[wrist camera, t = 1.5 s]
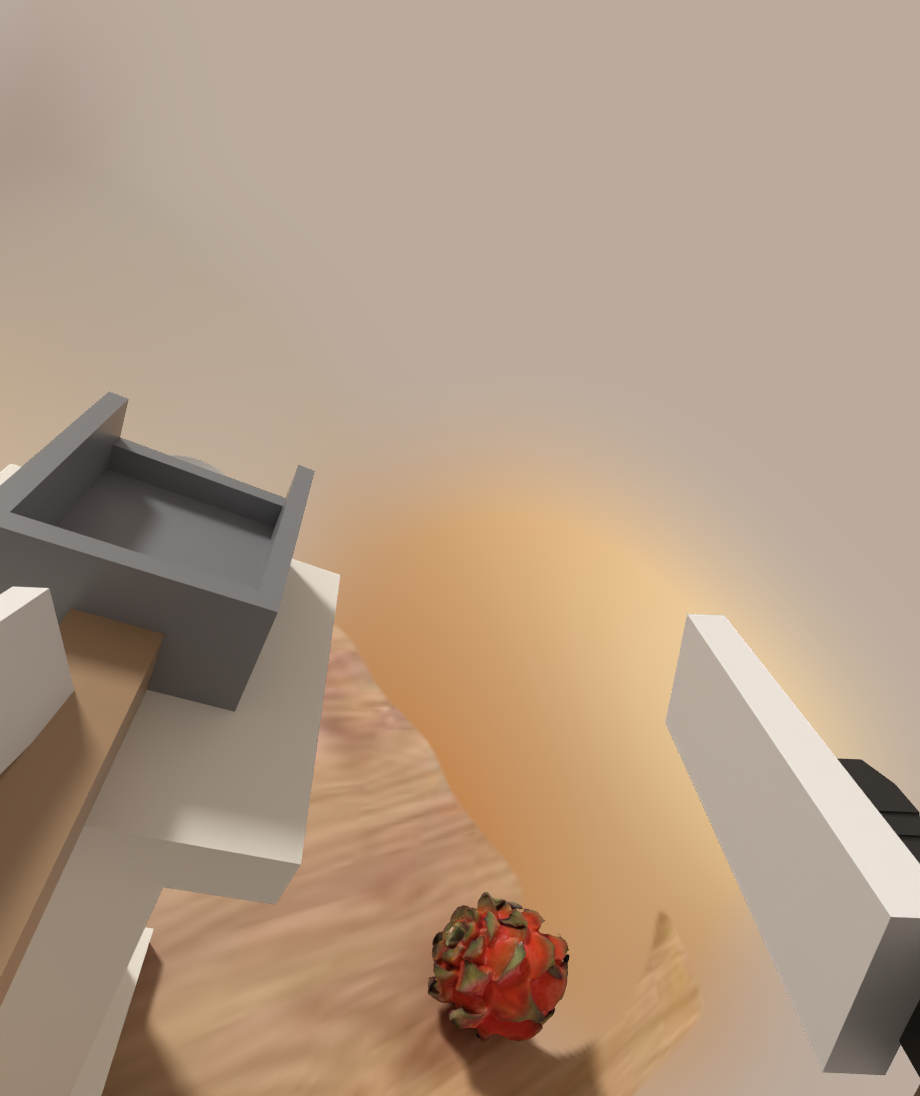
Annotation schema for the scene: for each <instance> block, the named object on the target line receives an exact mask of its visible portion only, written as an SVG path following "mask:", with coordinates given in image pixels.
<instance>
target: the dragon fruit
mask: <svg viewBox="0 0 920 1096" xmlns="http://www.w3.org/2000/svg"><path fill="white" fill-rule="evenodd" d="M516 908H518V909H523V908H522V906H520V905H519V904H517V903H514V902H506V901H505V900H499V899H493V898H491V896H490V895H489V893H487V892H485V893H483V894H482V895H481V898H480V899H479V900H478V907H477V909H475V908H470V907H468V906H461V907H458V908H457V909H456V910H455V911H454V913H453V914H452V916H451V919H450V923H448V924H447V926H446V927H445V929H444V931H443V932H439V933H438V934H436V936H435V937H434V940H433V948H432V957H433V960H434V962H435V963H434V969H433V970H434V973H435V976H436V977H430V978H429V982H428V988H429V989H428V994H429V995H431V996H432V997H433V998H434V999H436V1000H437V1001H439V1002H442V1003H450V1002H453V1003H454V1004H455V1010H450V1011H449V1012H448V1013H449V1020H450V1021H451V1022H452V1023H453V1024H455V1025H456V1026H457V1029H462V1028H476V1029H477V1031H478V1033H479V1035H480V1036H479V1035H478V1034H476V1036H477V1037H478V1038H479V1039H480V1040H481V1041H482V1042H486V1041H487V1039H488V1038H489V1037H490V1035H492V1034H495V1033H496V1034H499V1035H502V1036H504V1037H506V1038H508V1039H510V1040H516V1041H523V1040H526V1039H530V1038H532V1037H534V1036H535V1035H536V1034H537V1033H539V1032H540V1030H541V1029H542V1025H543V1024H544V1023H545V1022H546V1021H547V1020H548V1019H549V1018H550V1017H551V1016H552V1015H553V1014H554V1011H555V1006H556V1004H557V1003H558V1002H559V1000H561V999H562V997H563V995H564V992H565V989H566V985H567V975H568V971H567V968H568V964H567V963H568V960H569V955H566V953H567V951H568V950H569V949H568V945H567V943H566V941H565V940H564V939H562V938H561V937H555V936H552V935H550V934H542V933H540V932H539V931H538V930H539V928H540V926H541V923H543V922H544V921H545V920H544V919H543V918H542V917H541V916H540V915H539V914H538V912H536V911H533V910H529V909H524V912H521V913H520V912H518V911H517V909H516ZM562 960H564V961H563V962H562ZM437 964H438V965H439V966H438V965H437ZM436 978H437V980H435V979H436Z"/></svg>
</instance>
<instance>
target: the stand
mask: <svg viewBox="0 0 920 1096" xmlns="http://www.w3.org/2000/svg"><path fill="white" fill-rule="evenodd" d="M20 468H21V467H20V466H18V465H15V464H10V465H8V466H7V467H6V468H5V469H3V470H2V471H1V472H0V485H1V484H2V483H4V482H5V481H6V480H7V479H8V478H9V477H11V476H12V475H13V474H14V473H15V472H16V471H18V470H19V469H20ZM339 580H340V575H339V574H336V573H333V572H330V571H327V570H324V569H321V568H318V567H315V566H312V565H309V564H306V563H303V562H300V561H297V560H294V559H292V560H291V564H290V568H289V572H288V576H287V580H286V583H285V587H284V591H283V595H282V599H281V603H280V607H279V610H278V613H277V616H276V618H275V620H274V623H273V625H272V627H271V630H270V632H269V634H268V636H267V639H266V641H265V643H264V646H263V648H262V650H261V653H260V655H259V657H258V660H257V662H256V664H255V666H254V669H253V671H252V673H251V676H250V678H249V680H248V683H247V685H246V687H245V690H244V692H243V694H242V696H241V699H240V701H239V703H238V706H237V708H236V710H235V712H234V711H230V710H226V709H222V708H218V707H214V706H210V705H206V704H202V703H198V702H194V701H190V700H186V699H182V698H178V697H174V696H170V695H166V694H162V693H158V692H154V691H150V690H146V692H145V695H144V697H143V699H142V701H141V703H140V705H139V708H138V710H137V712H136V714H135V716H134V718H133V721H132V723H131V725H130V727H129V729H128V731H127V733H126V736H125V738H124V740H123V742H122V744H121V746H120V749H119V751H118V753H117V755H116V757H115V759H114V762H113V764H112V766H111V768H110V770H109V772H108V775H107V777H106V779H105V781H104V783H103V785H102V788H101V790H100V792H99V794H98V796H97V798H96V801H95V803H94V805H93V807H92V809H91V811H90V814H89V816H88V818H87V820H86V822H85V824H84V827H83V829H82V831H81V833H80V835H79V838H78V840H77V842H76V844H75V846H74V848H73V851H72V853H71V855H70V857H69V859H68V861H67V864H66V866H65V868H64V870H63V872H62V874H61V877H60V879H59V881H58V883H57V885H56V887H55V890H54V892H53V894H52V896H51V898H50V900H49V903H48V905H47V907H46V909H45V911H44V913H43V916H42V918H41V920H40V922H39V924H38V926H37V929H36V931H35V933H34V935H33V937H32V939H31V942H30V944H29V946H28V948H27V950H26V952H25V955H24V957H23V959H22V961H21V963H20V965H19V968H18V970H17V972H16V974H15V976H14V978H13V981H12V983H11V985H10V987H9V989H8V991H7V994H6V996H5V998H4V1000H3V1002H2V1004H1V1007H0V1096H101V1095H102V1092H103V1089H104V1086H105V1082H106V1079H107V1076H108V1073H109V1070H110V1066H111V1063H112V1060H113V1057H114V1054H115V1050H116V1047H117V1044H118V1041H119V1038H120V1034H121V1031H122V1028H123V1025H124V1022H125V1018H126V1015H127V1012H128V1009H129V1006H130V1002H131V999H132V996H133V993H134V990H135V986H136V983H137V980H138V977H139V974H140V970H141V967H142V964H143V961H144V958H145V954H146V951H147V948H148V945H149V942H150V938H151V935H152V932H153V928H146V924H147V922H148V920H149V918H150V915H151V913H152V911H153V909H154V907H155V904H156V902H157V900H158V898H159V895H160V893H161V891H162V889H163V887H165V888H171V889H178V890H184V891H191V892H197V893H204V894H210V895H216V896H223V897H229V898H236V899H242V900H249V901H255V902H261V903H268V904H274V905H275V904H276V903H277V901H278V900H279V898H280V897H281V895H282V893H283V892H284V890H285V889H286V887H287V886H288V884H289V882H290V881H291V879H292V878H293V876H294V874H295V873H296V871H297V870H298V868H299V867H300V865H301V860H302V853H303V845H304V838H305V830H306V823H307V816H308V808H309V801H310V794H311V786H312V779H313V772H314V764H315V757H316V750H317V742H318V735H319V728H320V720H321V713H322V705H323V698H324V691H325V683H326V676H327V669H328V661H329V654H330V647H331V639H332V632H333V625H334V617H335V610H336V602H337V595H338V588H339Z"/></svg>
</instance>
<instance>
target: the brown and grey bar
mask: <svg viewBox="0 0 920 1096" xmlns="http://www.w3.org/2000/svg"><path fill="white" fill-rule="evenodd" d="M127 403H128V399H127V398H124V397H122V396H119V395H117V394H114V393H111V392H108V393H107V394H106V395H105V396H103V397H102V398H101V399H100V400H99V401H98V402H96V403H95V404H94V405H93V406H92V407H91V408H90V409H88V410H87V411H86V412H85V413H84V414H83V415H81V416H80V417H79V418H78V419H77V420H76V421H74V422H73V423H72V424H71V425H70V426H69V427H67V428H66V429H65V430H64V431H63V432H62V433H60V434H59V435H58V436H57V437H56V438H55V439H54V440H53V441H51V442H50V443H49V444H48V445H47V446H45V447H44V448H43V449H42V450H41V451H40V452H39V453H37V454H36V455H35V456H34V457H33V458H32V459H30V460H29V461H28V462H27V463H26V464H25V465H23V466H22V467H21V468H20V469H19V470H18V471H16V472H15V473H14V474H13V475H12V476H11V477H9V478H8V479H7V480H6V481H5V482H4V483H2V484H1V485H0V594H2V593H3V592H5V591H6V590H8V589H10V588H11V587H35V588H49V589H50V593H51V597H52V601H53V605H54V609H55V613H56V617H57V621H58V625H59V629H60V633H61V637H62V641H63V645H64V649H65V653H66V657H67V661H68V666H69V670H70V674H71V678H72V682H73V686H74V692H73V693H72V694H71V695H70V696H69V698H68V699H67V700H66V701H65V703H64V704H63V705H62V706H61V708H60V709H59V710H58V711H57V712H56V714H55V715H54V716H53V717H52V719H51V720H50V721H49V722H48V724H47V725H46V726H45V727H44V728H43V730H42V731H41V732H40V733H39V735H38V736H37V737H36V738H35V740H34V741H33V742H32V743H31V744H30V745H29V746H28V747H27V748H26V749H25V750H24V751H23V752H22V753H21V754H20V755H19V756H18V757H17V758H16V759H15V760H14V761H13V762H12V763H11V764H10V765H9V766H8V767H7V768H6V769H5V770H4V771H3V772H2V773H1V774H0V1007H1V1004H2V1002H3V1000H4V998H5V996H6V994H7V991H8V989H9V987H10V985H11V983H12V981H13V978H14V976H15V974H16V972H17V970H18V968H19V965H20V963H21V961H22V959H23V957H24V955H25V952H26V950H27V948H28V946H29V944H30V942H31V939H32V937H33V935H34V933H35V931H36V929H37V926H38V924H39V922H40V920H41V918H42V916H43V913H44V911H45V909H46V907H47V905H48V903H49V900H50V898H51V896H52V894H53V892H54V890H55V887H56V885H57V883H58V881H59V879H60V877H61V874H62V872H63V870H64V868H65V866H66V864H67V861H68V859H69V857H70V855H71V853H72V851H73V848H74V846H75V844H76V842H77V840H78V838H79V835H80V833H81V831H82V829H83V827H84V824H85V822H86V820H87V818H88V816H89V814H90V811H91V809H92V807H93V805H94V803H95V801H96V798H97V796H98V794H99V792H100V790H101V788H102V785H103V783H104V781H105V779H106V777H107V775H108V772H109V770H110V768H111V766H112V764H113V762H114V759H115V757H116V755H117V753H118V751H119V749H120V746H121V744H122V742H123V740H124V738H125V736H126V733H127V731H128V729H129V727H130V725H131V723H132V721H133V718H134V716H135V714H136V712H137V710H138V708H139V705H140V703H141V701H142V699H143V697H144V695H145V692H146V690H150V691H154V692H158V693H162V694H166V695H170V696H174V697H178V698H182V699H186V700H190V701H194V702H198V703H202V704H206V705H210V706H214V707H218V708H222V709H226V710H230V711H234V712H235V710H236V708H237V706H238V703H239V701H240V699H241V696H242V694H243V692H244V690H245V687H246V685H247V683H248V680H249V678H250V676H251V673H252V671H253V669H254V666H255V664H256V662H257V660H258V657H259V655H260V653H261V650H262V648H263V646H264V643H265V641H266V639H267V636H268V634H269V632H270V630H271V627H272V625H273V623H274V620H275V618H276V616H277V613H278V610H279V607H280V603H281V599H282V595H283V591H284V587H285V583H286V580H287V576H288V572H289V568H290V564H291V560H292V556H293V553H294V549H295V545H296V541H297V537H298V533H299V529H300V525H301V521H302V518H303V514H304V510H305V506H306V502H307V498H308V495H309V491H310V487H311V483H312V479H313V475H314V472H315V471H313V470H310V469H308V468H305V467H303V466H300V465H298V468H297V470H296V473H295V475H294V478H293V481H292V483H291V486H290V488H289V491H288V493H287V496H286V498H283V497H281V496H278V495H276V494H273V493H270V492H267V491H265V490H262V489H259V488H256V487H254V486H251V485H248V484H246V483H243V482H240V481H237V480H235V479H232V478H229V477H226V476H224V475H221V474H218V473H216V472H213V471H210V470H207V469H205V468H202V467H199V466H196V465H194V464H191V463H188V462H186V461H183V460H180V459H177V458H175V457H172V456H169V455H166V454H164V453H161V452H158V451H156V450H152V449H150V448H147V447H145V446H142V445H139V444H136V443H134V442H131V441H128V440H126V439H123V438H120V435H121V430H122V426H123V421H124V417H125V412H126V408H127Z"/></svg>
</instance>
